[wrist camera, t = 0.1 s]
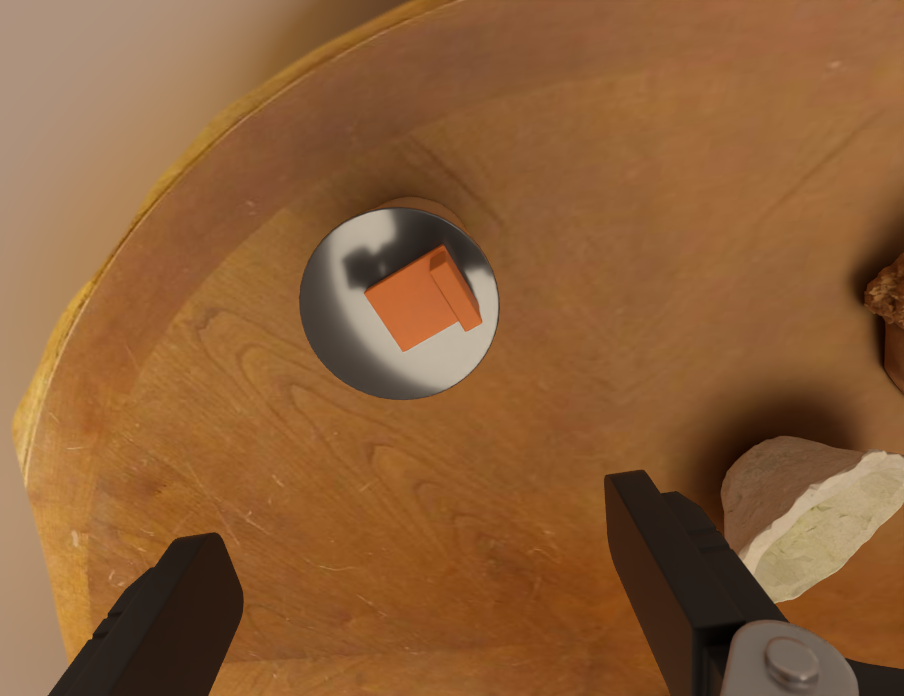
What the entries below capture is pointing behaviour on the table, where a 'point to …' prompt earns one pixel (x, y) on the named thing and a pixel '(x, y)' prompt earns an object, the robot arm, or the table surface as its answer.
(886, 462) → the bowl
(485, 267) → the lidded canister
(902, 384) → the stuffed squirrel
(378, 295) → the slider
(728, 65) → the table surface
